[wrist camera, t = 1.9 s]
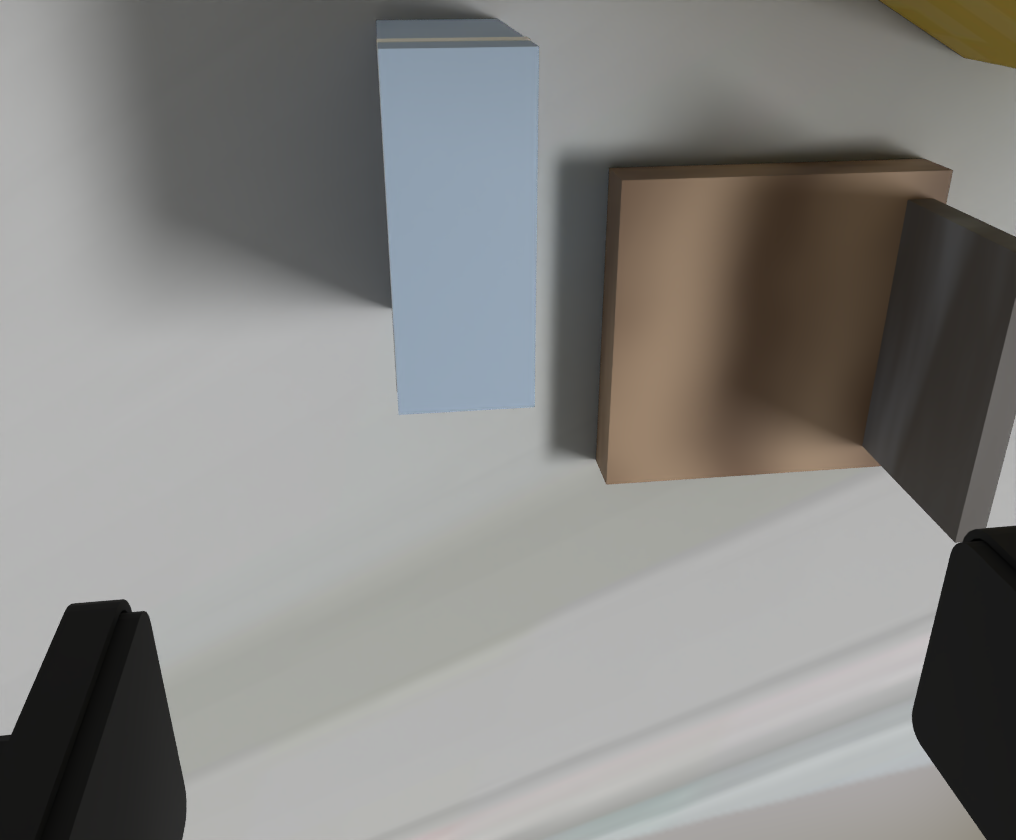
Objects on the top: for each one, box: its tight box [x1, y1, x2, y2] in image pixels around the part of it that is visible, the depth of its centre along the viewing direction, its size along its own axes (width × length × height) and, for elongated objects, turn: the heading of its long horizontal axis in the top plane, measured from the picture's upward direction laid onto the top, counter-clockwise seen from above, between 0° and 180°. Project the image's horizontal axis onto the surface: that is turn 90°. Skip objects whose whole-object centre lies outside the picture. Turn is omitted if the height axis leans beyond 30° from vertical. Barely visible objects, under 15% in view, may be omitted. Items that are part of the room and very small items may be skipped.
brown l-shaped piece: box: [596, 159, 1016, 543], centre depth 34 cm, size 12×12×9 cm
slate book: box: [376, 19, 539, 415], centre depth 30 cm, size 4×10×9 cm, turn 0°
